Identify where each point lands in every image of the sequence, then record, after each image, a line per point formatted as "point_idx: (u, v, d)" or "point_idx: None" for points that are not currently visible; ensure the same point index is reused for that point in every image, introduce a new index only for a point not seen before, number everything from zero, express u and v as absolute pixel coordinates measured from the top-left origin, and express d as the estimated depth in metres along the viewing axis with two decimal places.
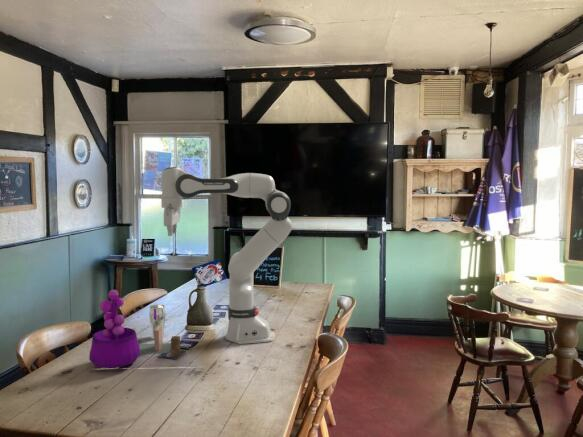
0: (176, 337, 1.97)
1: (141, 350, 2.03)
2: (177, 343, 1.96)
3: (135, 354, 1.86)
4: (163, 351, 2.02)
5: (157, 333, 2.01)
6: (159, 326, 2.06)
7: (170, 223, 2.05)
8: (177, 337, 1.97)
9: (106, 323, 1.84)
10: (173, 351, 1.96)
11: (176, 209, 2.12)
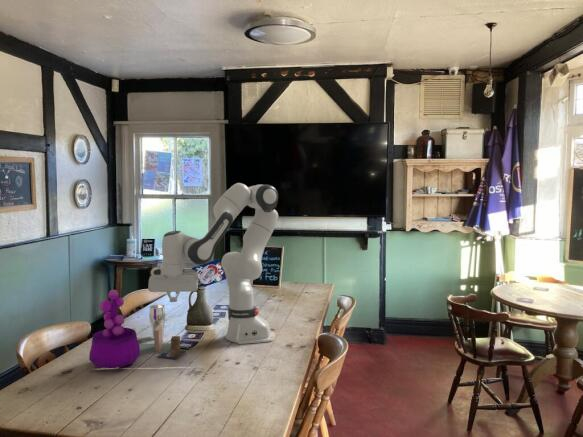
0: (176, 337, 1.97)
1: (141, 350, 2.03)
2: (177, 343, 1.96)
3: (135, 354, 1.86)
4: (163, 351, 2.02)
5: (157, 333, 2.01)
6: (159, 326, 2.06)
7: (197, 287, 2.05)
8: (177, 337, 1.97)
9: (106, 323, 1.84)
10: (173, 351, 1.96)
11: None
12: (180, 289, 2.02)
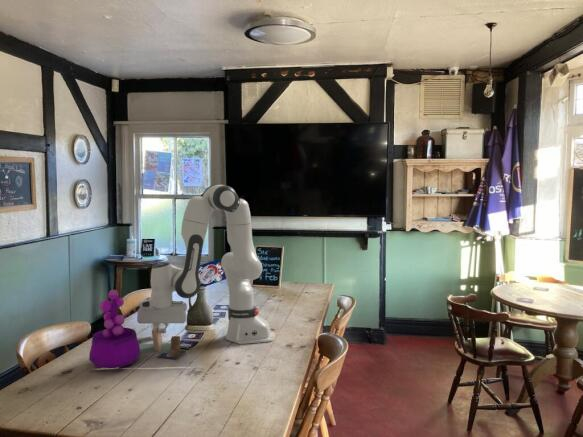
0: (176, 337, 1.97)
1: (141, 350, 2.03)
2: (177, 343, 1.96)
3: (135, 354, 1.86)
4: (163, 351, 2.02)
5: (155, 333, 2.01)
6: None
7: None
8: (177, 337, 1.97)
9: (106, 323, 1.84)
10: (173, 351, 1.96)
11: None
12: (169, 321, 2.03)
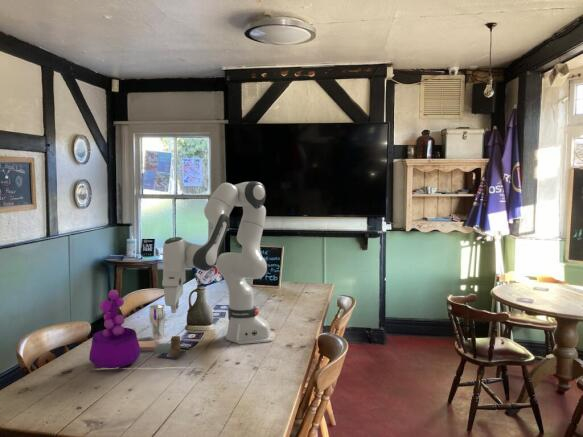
0: (176, 337, 1.97)
1: None
2: (177, 343, 1.96)
3: (135, 354, 1.86)
4: (163, 351, 2.02)
5: None
6: None
7: None
8: (177, 337, 1.97)
9: (106, 323, 1.84)
10: (173, 351, 1.96)
11: None
12: (180, 295, 1.99)
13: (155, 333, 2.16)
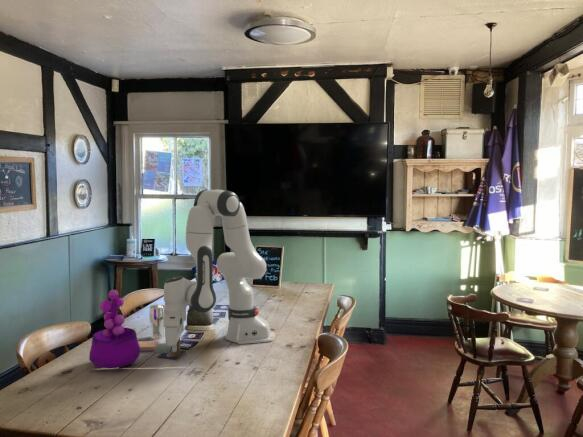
0: None
1: None
2: (177, 343, 1.96)
3: (135, 354, 1.86)
4: (163, 351, 2.02)
5: None
6: None
7: None
8: None
9: (106, 323, 1.84)
10: None
11: None
12: (181, 333, 2.01)
13: (155, 333, 2.16)
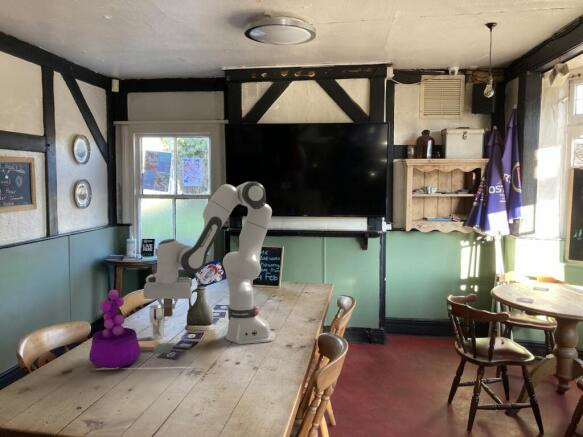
0: None
1: None
2: None
3: (135, 354, 1.86)
4: (163, 351, 2.02)
5: None
6: None
7: (191, 294, 2.09)
8: None
9: (106, 323, 1.84)
10: None
11: None
12: (175, 297, 2.06)
13: (155, 333, 2.16)
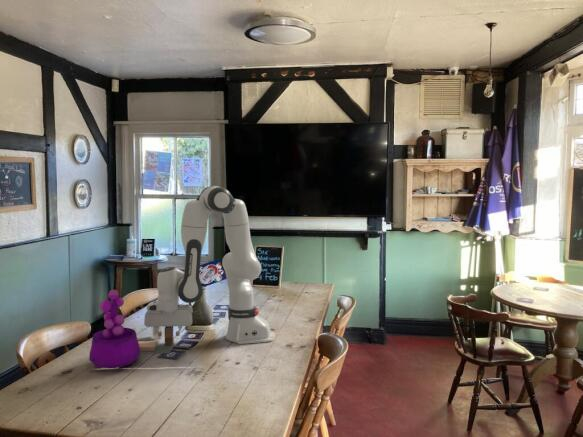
0: (168, 327, 2.08)
1: None
2: None
3: (135, 354, 1.86)
4: (163, 351, 2.02)
5: None
6: None
7: (192, 321, 2.10)
8: (168, 327, 2.08)
9: (106, 323, 1.84)
10: None
11: None
12: (175, 324, 2.07)
13: (155, 333, 2.16)
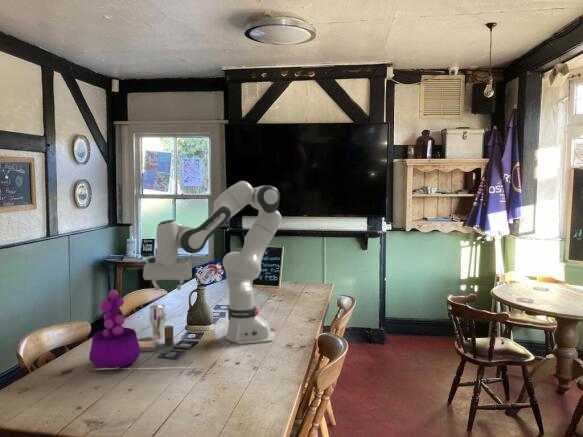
0: (168, 327, 2.08)
1: None
2: None
3: (135, 354, 1.86)
4: (163, 351, 2.02)
5: None
6: None
7: (191, 275, 2.08)
8: (168, 327, 2.08)
9: (106, 323, 1.84)
10: None
11: None
12: (175, 278, 2.05)
13: (155, 333, 2.16)
